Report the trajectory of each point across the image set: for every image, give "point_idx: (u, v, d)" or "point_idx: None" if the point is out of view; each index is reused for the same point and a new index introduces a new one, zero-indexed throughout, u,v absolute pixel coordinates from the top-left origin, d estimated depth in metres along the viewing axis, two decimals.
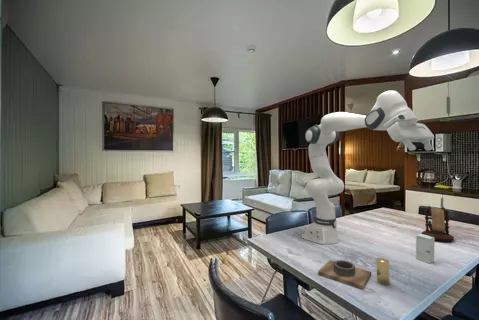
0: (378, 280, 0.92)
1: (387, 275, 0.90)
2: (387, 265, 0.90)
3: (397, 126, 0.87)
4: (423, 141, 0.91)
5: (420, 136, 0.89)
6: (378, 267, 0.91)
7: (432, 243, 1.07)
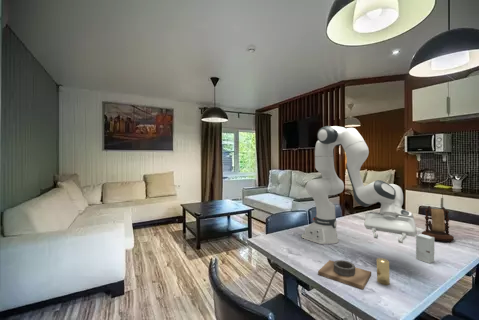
0: (378, 280, 0.92)
1: (387, 275, 0.90)
2: (387, 265, 0.90)
3: None
4: (375, 229, 1.05)
5: None
6: (378, 267, 0.91)
7: (432, 243, 1.07)
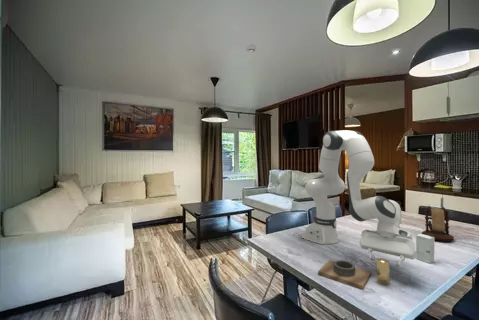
0: (378, 280, 0.92)
1: (387, 275, 0.90)
2: (387, 265, 0.90)
3: None
4: (371, 249, 0.99)
5: None
6: (378, 267, 0.91)
7: (432, 243, 1.07)
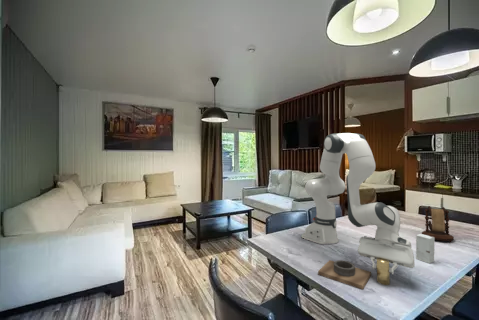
0: (378, 280, 0.92)
1: (387, 275, 0.90)
2: (387, 265, 0.90)
3: None
4: (374, 258, 0.96)
5: None
6: (378, 267, 0.91)
7: (432, 243, 1.07)
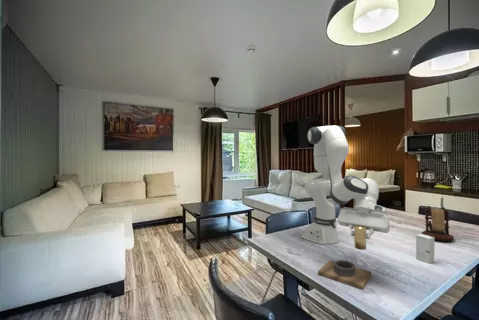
0: (355, 246, 0.95)
1: (363, 240, 0.94)
2: (364, 231, 0.93)
3: None
4: (352, 226, 0.99)
5: None
6: (355, 233, 0.95)
7: (432, 243, 1.07)
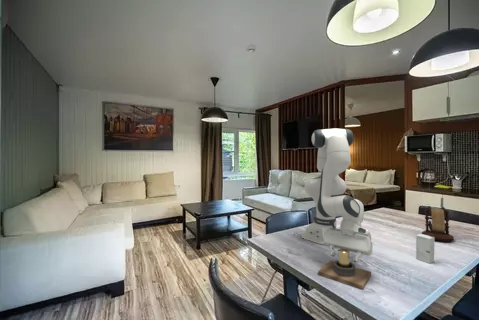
0: None
1: (347, 265, 0.96)
2: (347, 255, 0.96)
3: None
4: (333, 246, 1.03)
5: None
6: (339, 257, 0.98)
7: (432, 243, 1.07)
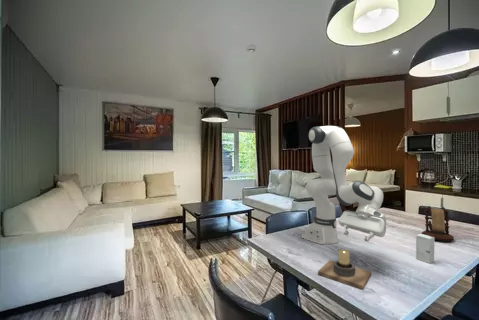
0: None
1: (347, 264, 0.96)
2: (347, 255, 0.96)
3: None
4: (347, 226, 1.09)
5: None
6: (339, 257, 0.98)
7: (432, 243, 1.07)
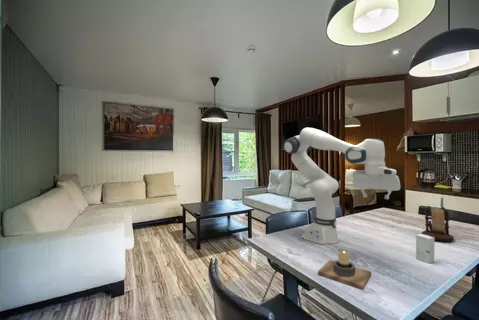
0: None
1: (347, 264, 0.96)
2: (347, 255, 0.96)
3: None
4: (363, 189, 1.14)
5: None
6: (339, 257, 0.98)
7: (432, 243, 1.07)
